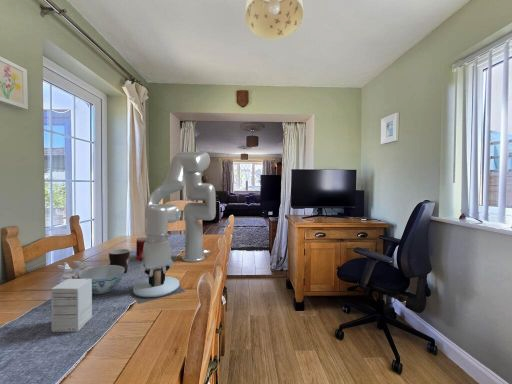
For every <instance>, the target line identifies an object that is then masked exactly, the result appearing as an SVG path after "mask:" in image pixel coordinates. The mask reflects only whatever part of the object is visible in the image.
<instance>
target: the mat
mask: <svg viewBox="0 0 512 384" xmlns="http://www.w3.org/2000/svg"><path fill="white" fill-rule="evenodd" d="M133 287H134V285H129V286H128V289H129V291H130V292H131V294H132V296H133V298H134V299H135V301H136V302H137V303H138V304H142V303H147V302H150V301H156V300H158V299H159V300H160V299H163V298H166V297H170V296H174V295H179V294H182V293H185V292H187V291H186V290H184V288H182V287H181V285H179V288H178V289H177V290H175V291H174V292H172V293H170V294H167V295H163V296H159V297H141V296H137V295H135V294H134V293H133Z"/></svg>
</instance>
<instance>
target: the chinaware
mask: <svg viewBox="0 0 512 384" xmlns="http://www.w3.org/2000/svg"><path fill="white" fill-rule="evenodd" d="M124 275H125V274H124V267H122V266H117V265H100V266H94V267H91V268H88V269H85V270H83V271H81V272H80V273H79V274H78V279H92V294H97V295H99V294H105V293H108V292H110V291H112V290H113V288H114V289H115V287H116V286H118V285H119V283H120V282H121V280H122V279H123V276H124Z"/></svg>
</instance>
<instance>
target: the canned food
mask: <svg viewBox="0 0 512 384" xmlns="http://www.w3.org/2000/svg"><path fill="white" fill-rule="evenodd" d="M144 242H147V236H143V237H137V238H136V243H135V245H136V248H135V249H136V250H135V252H136V253H135V254H136V260H138V261H142V255H143V247H144Z"/></svg>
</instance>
